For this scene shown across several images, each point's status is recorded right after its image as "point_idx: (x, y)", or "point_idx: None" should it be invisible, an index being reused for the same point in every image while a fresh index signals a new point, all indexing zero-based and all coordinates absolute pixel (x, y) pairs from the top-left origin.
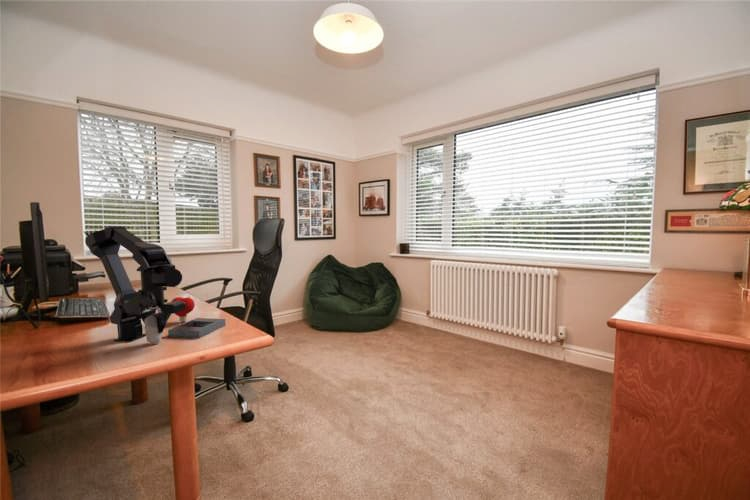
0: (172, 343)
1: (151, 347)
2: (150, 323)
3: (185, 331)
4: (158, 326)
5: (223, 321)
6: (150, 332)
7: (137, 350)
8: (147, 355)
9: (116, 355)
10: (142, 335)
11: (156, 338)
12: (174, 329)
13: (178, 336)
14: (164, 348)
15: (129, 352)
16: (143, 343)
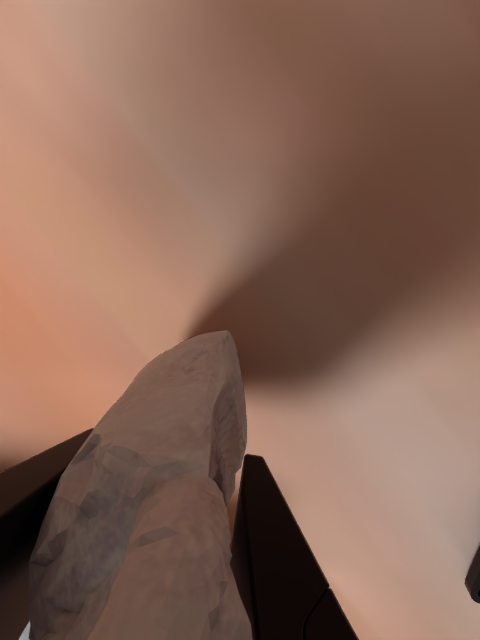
0: (48, 377)
1: (172, 280)
2: (113, 538)
3: None
4: (9, 486)
5: None
6: (147, 380)
7: (261, 195)
8: (24, 40)
9: (409, 22)
10: (476, 556)
11: (140, 371)
12: None
13: None
14: (15, 251)
15: (311, 131)
16: (344, 392)
